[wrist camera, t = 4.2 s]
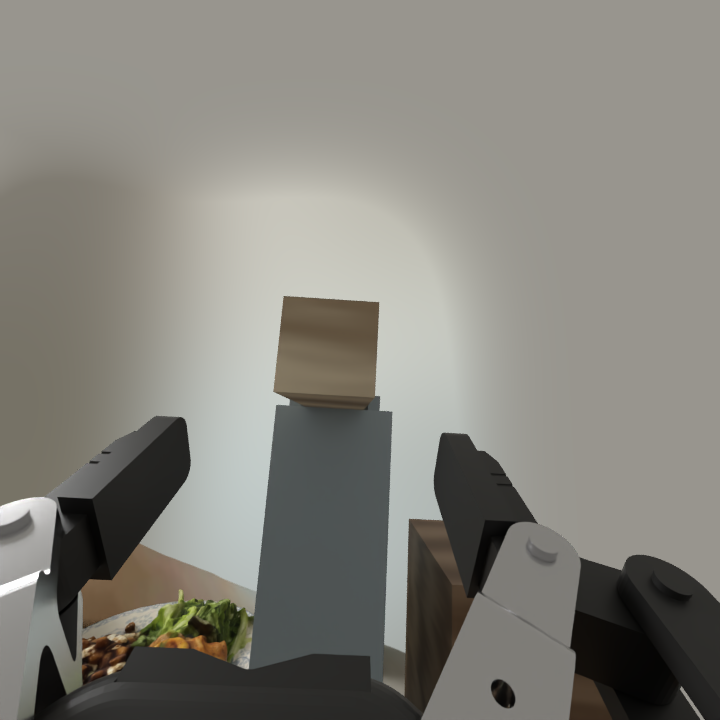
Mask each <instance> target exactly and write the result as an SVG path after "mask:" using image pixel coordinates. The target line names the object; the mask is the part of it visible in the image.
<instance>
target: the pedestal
mask: <svg viewBox="0 0 720 720" xmlns="http://www.w3.org/2000/svg"><path fill="white" fill-rule="evenodd" d="M379 408H380V396H375V398H374V399H373V400H372V401H371V402H370V403H369V405H368V406H367V407H366V408H365V409H364V410H354V409H337V408H320V407H305V406H303V405H301V404H299V403H297V402H294V401H292V400H290V406H286V405H276V414H275V423H274V432H273V442H272V451H271V461H270V471H269V480H268V489H267V499H266V509H265V518H264V527H263V537H262V547H261V557H260V566H259V576H258V585H257V594H256V604H255V613H254V623H253V632H252V642H251V651H250V661H249V669H256V668H260V667H263V666H267V665H271V664H275V663H279V662H283V661H287V660H290V659H294V658H298V657H302V656H306V655H310V654H335V655H360V656H370V666H371V678H372V679H375V680H377V681H380V682H382V683H383V656H384V627H385V626H384V625H385V600H386V573H387V545H388V515H389V490H390V489H389V488H390V462H391V434H392V412H389V411H387V412H386V411H379Z"/></svg>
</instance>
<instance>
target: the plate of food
mask: <svg viewBox="0 0 720 720" xmlns="http://www.w3.org/2000/svg"><path fill="white" fill-rule="evenodd" d="M253 623H254V615H253V614H252V613H251V612H249V611H247V610H245V608H240V607H237V606H236V604H235V603H231V604H230V600H229V599H224V600H221V601H219V602H216V601H212V600H207V601H204V600H197V599H195V598H194V599H192V600H189V601H184V594H183V590H179V599H178V601H175V602H168V603H162V604H157V605H151V606H147V607H142V608H138V609H135V610H131V611H127V612H124V613H121V614H118V615H115V616H112V617H110V618H107V619H105V620H102V621H99V622H97V623H95V624H93V625H91V626H88V627H86V628H84V629H82V682H83V685H86V684H88V683H90V682H92V681H94V680H96V679H98V678H101V677H104V676H106V675H109V674H112V673H115V672H118V671H121V670H122V669H123V667H124V665H125V663H126V662H127V660H128V658H129V656H130V654H131V653H132V651H133V649H134V647H135V646H140V647H164V648H188V649H196V650H198V651H201V652H203V653H206V654H208V655H211V656H213V657H216V658H218V659H221V660H223V661H226V662H229V663H231V664H234V665H236V666H239V667H241V668H244V669H249V661H250V651H251V642H252V632H253Z"/></svg>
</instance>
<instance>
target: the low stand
mask: <svg viewBox="0 0 720 720" xmlns="http://www.w3.org/2000/svg"><path fill="white" fill-rule="evenodd" d="M408 538H409V539H408V578H407V618H406V658H405V698H407V699H408V700H409V701H410V702H411V703H412V704H413V705H414V706H416V707H417V708H418V709H419V710H420V711H421V712H422V713H423V714H424V712H425V709H426V707H427V705H428V703H429V700H430V698H431V696H432V693H433V691H434V689H435V687H436V684H437V682H438V680H439V678H440V675H441V673H442V671H443V668H444V666H445V664H446V662H447V659H448V657H449V655H450V653H451V650H452V648H453V646H454V643H455V641H456V639H457V637H458V634H459V632H460V630H461V628H462V625H463V623H464V621H465V618H466V616H467V614H468V612H469V609H470V607H471V605H472V603H473V600H474V598H467V597H466V593H465V590H464V587H463V584H462V580H461V577H460V574H459V571H458V567H457V564H456V561H455V558H454V554H453V551H452V548H451V545H450V541H449V538H448V535H447V532H446V528H445V525H444V522H443V521H441V520H421V519H409V537H408ZM569 720H612V718H611V716H610V714H609V712H608V710H607V708H606V705H605V703H604V701H603V699H602V697H601V695H600V693H599V691H598V689H597V687H596V685H595V683H594V681H593V680H591V679H588V678H586V677H583V676H581V675H578V674H576V673H574V680H573V689H572V698H571V707H570V715H569Z"/></svg>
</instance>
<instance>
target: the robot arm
mask: <svg viewBox="0 0 720 720" xmlns="http://www.w3.org/2000/svg"><path fill="white" fill-rule="evenodd" d="M190 461H191V460H190V451H189V442H188V433H187V425H186V421H185V419H183V418H182V417H167V416H156V417H154V418H152V419H151V420H150V421H148V422H147V423H146V424H145V425H144V426H143V427H141V428H140V429H139V430H138V431H134V432H132V433H130V434H128V435H126V436H124V437H122V438H119V439H117V440H115V441H114V442H113V443H112V444H110V445H109V446H108V447H107V448H105V449H104V450H103V451H102V453H101V454H98V455H97V456H95V457H94V458H93V459H92V460H90V463H89V464H88V463H87V464H85V465H84V466H83V467H81V468H80V469H79V470H78V471H76V472H75V473H74V474H73V475H71V476H70V477H69V478H68V479H66V480H65V481H64V482H63V483H61V484H60V485H59V486H57V487H56V488H55V489H54V490H52V491H51V492H50V493H49V494H47V495H46V496H45V497H35V498H27V499H23V500H19V501H15V502H12V503H9V504H6V505H4V506H1V507H0V720H569V715H570V707H571V698H572V689H573V680H574V673H576V674H578V675H581V676H583V677H586V678H588V679H591V680H593V681H594V683H595V685H596V687H597V689H598V691H599V693H600V695H601V697H602V699H603V701H604V703H605V705H606V708H607V710H608V712H609V714H610V716H611V718H612V720H700V718H699V717H698V716H697V714H696V713H695V711H694V710H693V708H692V707H691V705H690V704H689V702H688V701H687V699H686V698H685V696H684V695H683V693H682V692H681V690H680V688H681V686H682V687H683V688H684V690H685V692H686V693H687V694H688V696H689V697H690V699H691V700H692V701H693V703H694V705H695V706H696V707H697V709H698V710H699V712H700V713H701V715H702V716H703V718H704V719H705V720H720V603H719V602H718V601H717V600H716V599H715V598H714V597H713V596H712V595H711V594H710V593H709V591H708V590H707V589H706V588H704V586H702V585H701V584H700V583H699V582H698V581H696V580H695V579H694V578H693V577H691V576H690V575H688V574H687V573H686V572H684V571H682V570H681V569H679V568H677V567H676V566H674V565H672V564H670V563H668V562H665V561H663V560H661V559H658V558H654V557H651V556H646V555H633V556H631V557H629V558H628V559H627V560H626V562H625V564H624V567H623V569H622V571H621V570H618V569H615V568H611V567H608V566H605V565H602V564H598V563H595V562H592V561H588V560H586V559H583V558H580V557H579V556H578V554H577V552H576V551H575V549H574V548H573V546H572V545H571V544H570V543H569V542H568V541H567V540H566V539H565V538H563V537H562V536H561V535H559V534H558V533H556V532H555V531H553V530H551V529H549V528H547V527H545V526H542V525H540V524H538V523H537V522H536V521H535V519H534V517H533V515H532V514H531V512H530V511H529V509H528V508H527V506H526V505H525V503H524V501H523V500H522V498H521V497H520V495H519V494H518V492H517V491H516V489H515V488H514V487H513V486H512V483H511V481H510V480H509V478H508V477H506V474H505V472H504V471H503V469H502V467H501V466H500V464H499V463H498V462H497V461H496V460H495V459H494V458H492V457H491V456H490V455H489V454H487V453H486V452H485V451H477V450H476V448H475V446H474V444H473V443H472V441H471V439H470V437H469V436H468V435H467V434H456V433H442V435H441V437H440V442H439V448H438V454H437V461H436V467H435V473H434V490H435V495H436V499H437V502H438V505H439V509H440V512H441V515H442V518H443V522H444V525H445V528H446V532H447V535H448V538H449V541H450V545H451V548H452V551H453V554H454V558H455V561H456V564H457V567H458V571H459V574H460V577H461V580H462V584H463V587H464V590H465V593H466V597H467V598H474V600H473V603H472V605H471V607H470V609H469V612H468V614H467V616H466V618H465V621H464V623H463V625H462V628H461V630H460V632H459V634H458V637H457V639H456V641H455V643H454V646H453V648H452V650H451V653H450V655H449V657H448V659H447V662H446V664H445V666H444V668H443V671H442V673H441V675H440V678H439V680H438V682H437V684H436V687H435V689H434V691H433V693H432V696H431V698H430V700H429V703H428V705H427V707H426V709H425V712H424V714H423V713H422V712H421V711H420V710H419V709H418V708H417V707H416V706H414V705H413V704H412V703H411V702H410V701H409V700H408V699H407V698H405V697H404V696H403V695H401V694H400V693H399V692H397V691H396V690H395V689H393V688H391V687H389V686H387V685H386V684H384V683H382V682H380V681H377V680H375V679H372V678H371V666H370V656H360V655H335V654H310V655H306V656H302V657H298V658H294V659H290V660H287V661H283V662H279V663H275V664H271V665H267V666H263V667H260V668H256V669H244V668H241V667H239V666H236V665H234V664H231V663H229V662H226V661H223V660H221V659H218V658H216V657H213V656H211V655H208V654H206V653H203V652H201V651H198V650H196V649H188V648H164V647H140V646H135V647H134V649H133V651H132V653H131V654H130V656H129V658H128V660H127V662H126V663H125V665H124V667H123V669H122V670H121V671H118V672H115V673H112V674H109V675H106V676H104V677H101V678H98V679H96V680H94V681H92V682H90V683H88V684H86V685H83V682H82V624H83V597H82V593H81V589H82V587H83V586H84V585H85V584H86V583H87V581H88V580H89V579H97V580H112V579H113V578H114V576H115V575H116V573H117V572H118V571H119V569H120V568H121V567H122V565H123V564H124V563H125V561H126V560H127V559H128V557H129V556H130V555H131V553H132V552H133V551H134V549H135V548H136V547H137V545H138V544H139V543H140V541H141V540H142V539H143V537H144V536H145V534H146V533H147V532H148V530H149V529H150V528H151V526H152V525H153V524H154V522H155V521H156V519H157V518H158V517H159V516H160V514H161V513H162V512H163V510H164V509H165V508H166V506H167V505H168V504H169V502H170V501H171V500H172V498H173V497H174V495H175V494H176V493H177V492H178V490H179V489H180V487H181V486H182V485H183V483H184V482H185V480H186V479H187V476H188V474H189V470H190Z"/></svg>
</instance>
